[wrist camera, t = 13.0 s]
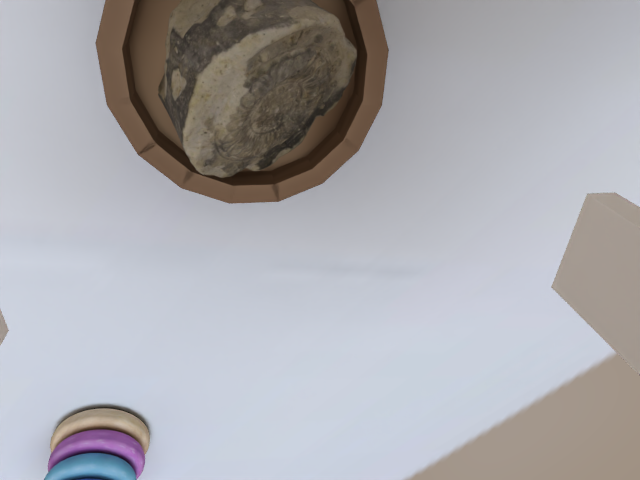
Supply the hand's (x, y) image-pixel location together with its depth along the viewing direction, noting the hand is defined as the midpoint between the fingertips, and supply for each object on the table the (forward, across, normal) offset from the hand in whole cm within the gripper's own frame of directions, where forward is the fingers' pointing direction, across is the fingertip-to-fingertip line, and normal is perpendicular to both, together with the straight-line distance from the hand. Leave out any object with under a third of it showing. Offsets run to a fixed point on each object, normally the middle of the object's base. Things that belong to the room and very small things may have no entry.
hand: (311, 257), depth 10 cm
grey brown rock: (+21, 0, 0) cm, 21 cm away
